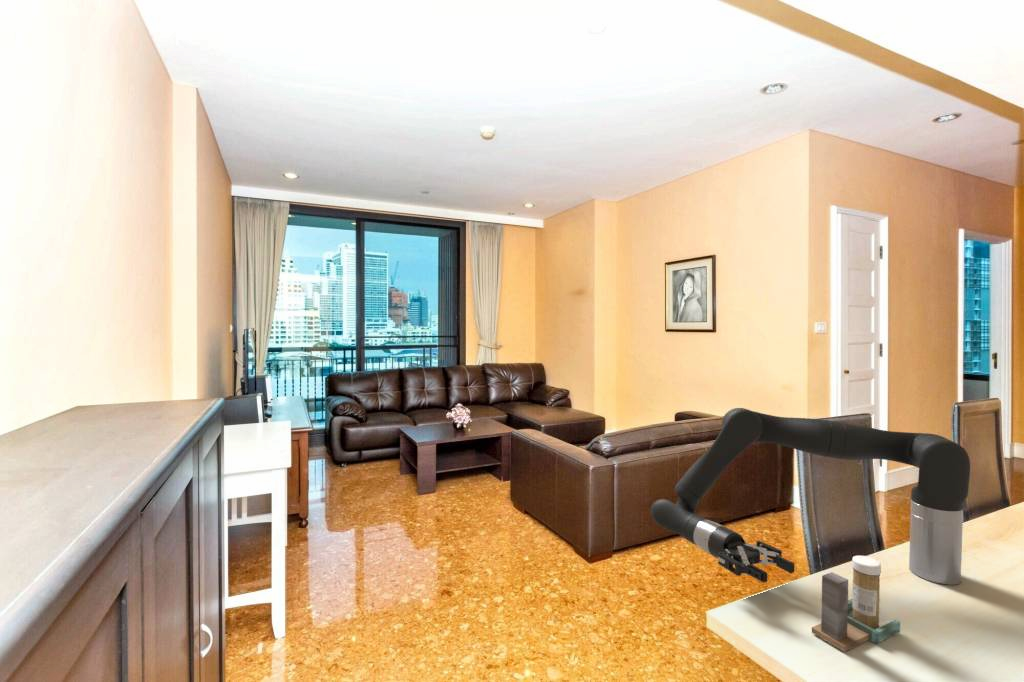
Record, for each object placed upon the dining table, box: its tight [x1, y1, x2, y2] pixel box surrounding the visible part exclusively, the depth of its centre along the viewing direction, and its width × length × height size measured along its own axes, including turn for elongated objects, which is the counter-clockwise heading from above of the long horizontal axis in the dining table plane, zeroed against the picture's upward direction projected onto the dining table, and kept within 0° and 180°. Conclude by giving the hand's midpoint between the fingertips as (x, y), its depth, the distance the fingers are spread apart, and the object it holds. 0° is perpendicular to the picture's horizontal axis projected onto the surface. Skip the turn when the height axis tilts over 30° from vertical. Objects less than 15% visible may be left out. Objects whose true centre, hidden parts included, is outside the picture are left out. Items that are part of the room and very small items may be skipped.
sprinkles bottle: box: [851, 555, 882, 630], centre depth 94 cm, size 5×5×13 cm
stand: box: [811, 571, 901, 653], centre depth 92 cm, size 16×9×12 cm, turn 115°
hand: (780, 573), depth 100 cm, fingers open, 8 cm apart
